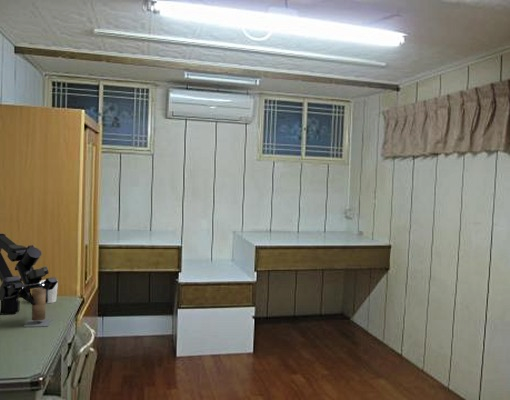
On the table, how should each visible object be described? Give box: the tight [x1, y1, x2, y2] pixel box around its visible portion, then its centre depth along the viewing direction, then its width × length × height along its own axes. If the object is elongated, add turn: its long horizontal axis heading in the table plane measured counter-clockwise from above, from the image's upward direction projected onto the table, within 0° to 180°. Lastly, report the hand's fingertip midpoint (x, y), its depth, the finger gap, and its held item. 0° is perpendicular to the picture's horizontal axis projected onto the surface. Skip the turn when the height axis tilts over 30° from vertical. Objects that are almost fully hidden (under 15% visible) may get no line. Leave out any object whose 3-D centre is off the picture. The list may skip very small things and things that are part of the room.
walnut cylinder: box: [31, 288, 47, 321], centre depth 189 cm, size 5×5×12 cm
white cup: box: [39, 279, 59, 304], centre depth 222 cm, size 8×8×10 cm
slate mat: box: [23, 318, 54, 328], centre depth 189 cm, size 9×9×1 cm
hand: (40, 303), depth 188 cm, fingers closed on walnut cylinder, 5 cm apart
